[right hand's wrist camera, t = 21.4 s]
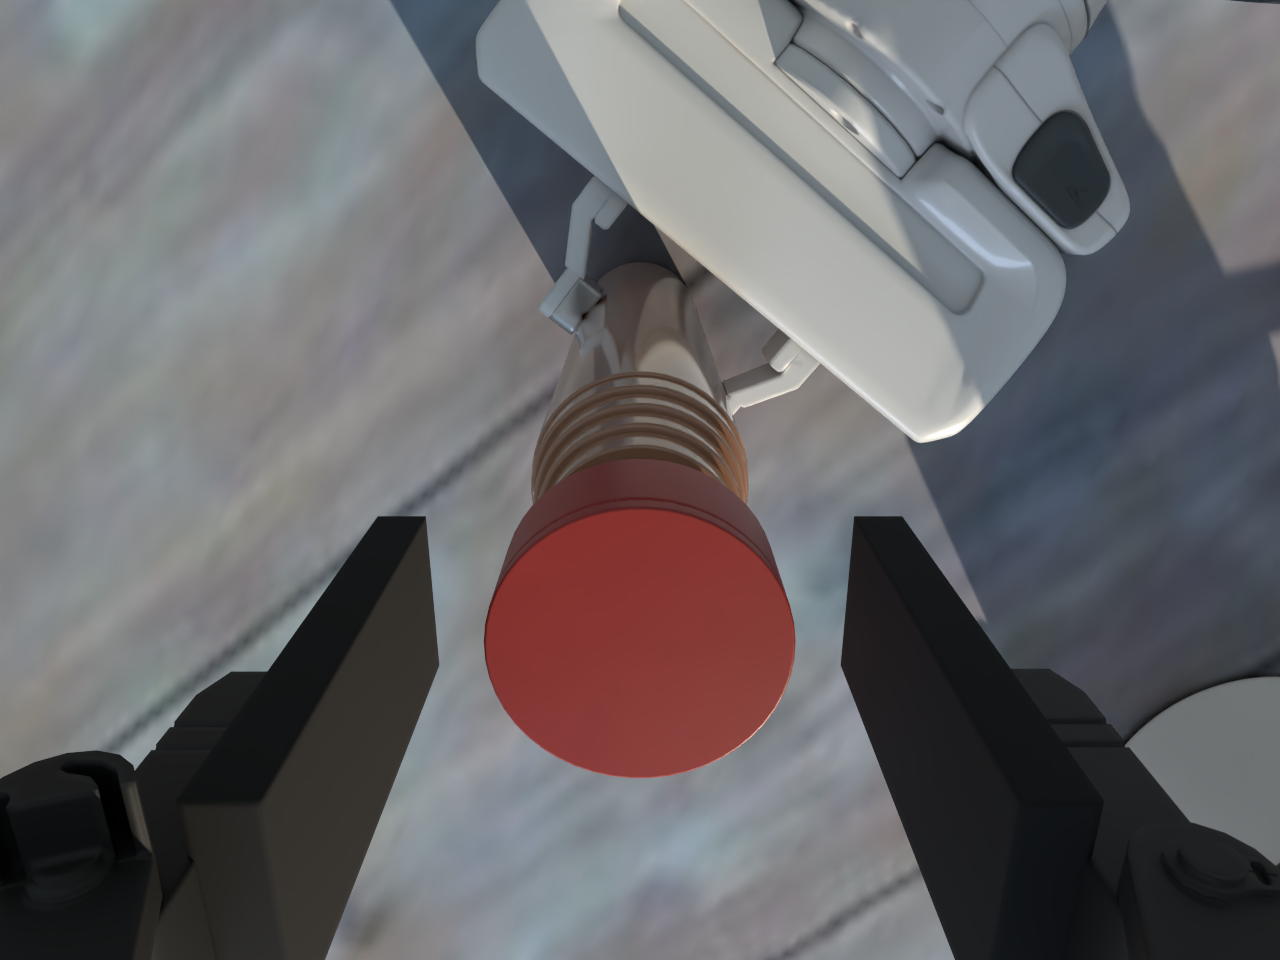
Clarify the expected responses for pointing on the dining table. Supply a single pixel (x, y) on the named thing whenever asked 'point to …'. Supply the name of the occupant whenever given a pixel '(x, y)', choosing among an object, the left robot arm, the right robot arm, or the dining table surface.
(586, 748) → the cap
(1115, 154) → the dining table surface
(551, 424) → the bottle
